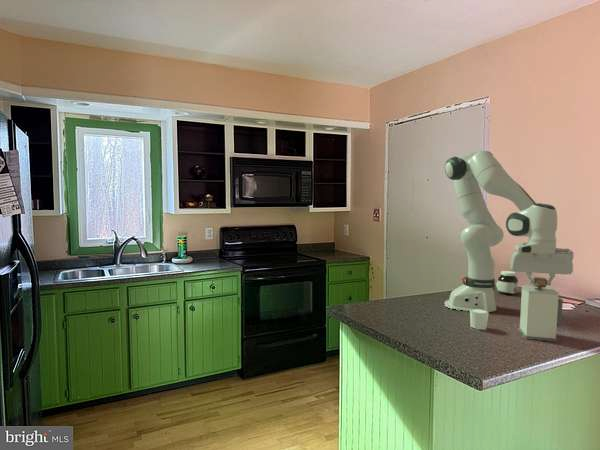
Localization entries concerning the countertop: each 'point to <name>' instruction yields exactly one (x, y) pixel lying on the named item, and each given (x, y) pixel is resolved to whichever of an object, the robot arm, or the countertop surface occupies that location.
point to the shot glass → (478, 318)
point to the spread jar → (507, 283)
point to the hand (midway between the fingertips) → (539, 284)
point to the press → (540, 313)
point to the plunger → (540, 282)
